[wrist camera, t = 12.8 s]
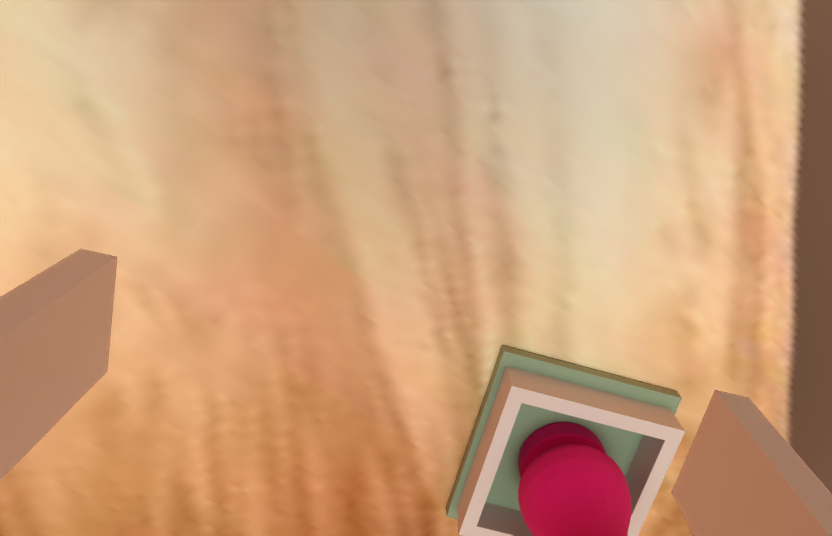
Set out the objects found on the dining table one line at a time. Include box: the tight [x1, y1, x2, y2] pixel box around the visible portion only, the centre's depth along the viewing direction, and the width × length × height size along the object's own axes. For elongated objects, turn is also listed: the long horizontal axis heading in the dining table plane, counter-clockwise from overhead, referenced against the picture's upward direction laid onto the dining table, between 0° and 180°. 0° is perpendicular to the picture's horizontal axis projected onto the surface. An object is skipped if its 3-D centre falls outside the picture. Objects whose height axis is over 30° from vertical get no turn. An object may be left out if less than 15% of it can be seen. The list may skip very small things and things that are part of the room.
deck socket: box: [446, 345, 685, 536], centre depth 48 cm, size 14×13×4 cm
